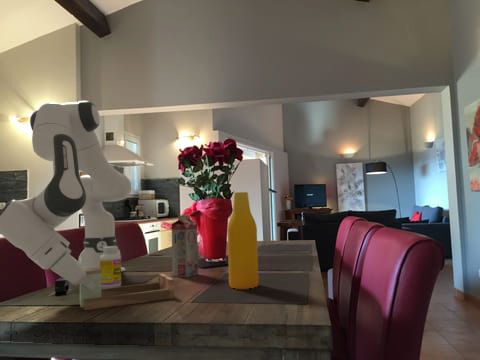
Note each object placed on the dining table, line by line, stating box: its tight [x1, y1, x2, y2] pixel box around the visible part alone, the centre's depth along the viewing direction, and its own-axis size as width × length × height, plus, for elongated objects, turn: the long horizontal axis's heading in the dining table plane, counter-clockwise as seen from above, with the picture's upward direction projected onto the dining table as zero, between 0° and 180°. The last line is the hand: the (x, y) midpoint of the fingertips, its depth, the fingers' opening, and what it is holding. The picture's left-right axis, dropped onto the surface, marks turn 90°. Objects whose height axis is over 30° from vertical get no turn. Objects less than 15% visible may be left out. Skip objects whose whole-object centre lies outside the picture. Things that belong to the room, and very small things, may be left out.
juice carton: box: [171, 214, 199, 278], centre depth 142 cm, size 7×7×22 cm
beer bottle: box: [227, 191, 260, 290], centre depth 119 cm, size 9×9×29 cm
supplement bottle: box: [100, 245, 122, 289], centre depth 125 cm, size 7×7×13 cm
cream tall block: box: [79, 267, 102, 308], centre depth 103 cm, size 5×5×9 cm
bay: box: [83, 272, 175, 311], centre depth 107 cm, size 12×23×5 cm, turn 116°
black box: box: [47, 277, 74, 298], centre depth 118 cm, size 12×7×5 cm, turn 8°
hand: (92, 285), depth 103 cm, fingers closed on cream tall block, 5 cm apart
